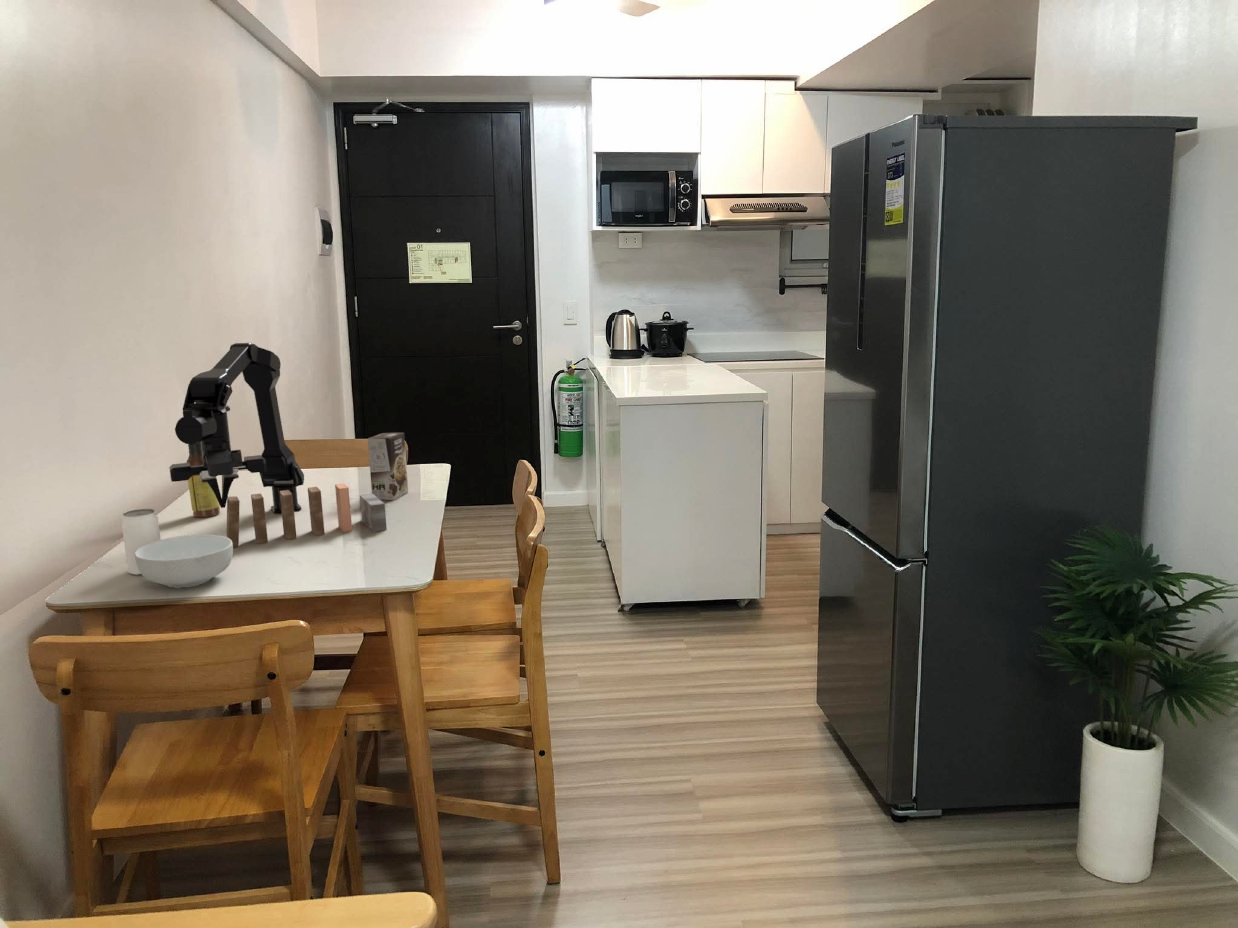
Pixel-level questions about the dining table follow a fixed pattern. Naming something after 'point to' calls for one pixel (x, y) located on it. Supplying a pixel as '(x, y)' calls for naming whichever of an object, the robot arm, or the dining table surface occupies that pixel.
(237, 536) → the domino
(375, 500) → the end stop
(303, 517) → the dining table surface
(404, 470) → the coffee box
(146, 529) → the can
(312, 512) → the domino
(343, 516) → the end tile
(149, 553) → the cereal bowl
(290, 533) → the domino
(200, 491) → the sauce bottle
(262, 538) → the domino
